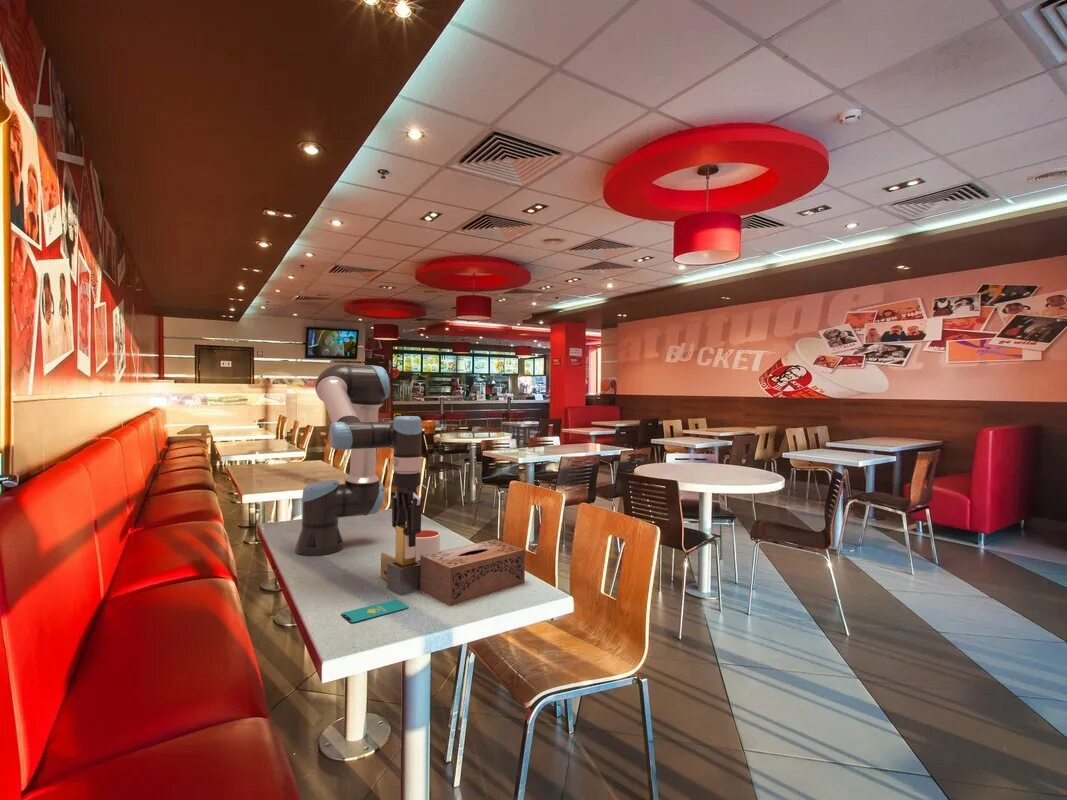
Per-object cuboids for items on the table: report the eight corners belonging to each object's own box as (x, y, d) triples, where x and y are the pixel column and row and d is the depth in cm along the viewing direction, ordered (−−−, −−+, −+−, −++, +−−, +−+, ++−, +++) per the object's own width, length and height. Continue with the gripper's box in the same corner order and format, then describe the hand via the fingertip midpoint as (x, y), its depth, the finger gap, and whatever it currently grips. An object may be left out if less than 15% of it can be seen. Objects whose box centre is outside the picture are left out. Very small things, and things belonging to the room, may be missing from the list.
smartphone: (410, 606, 133) (351, 622, 123) (409, 609, 133) (351, 625, 123) (396, 598, 138) (339, 613, 128) (396, 601, 138) (339, 616, 128)
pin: (395, 565, 146) (395, 525, 146) (408, 562, 149) (408, 523, 149) (402, 568, 144) (403, 528, 144) (415, 565, 146) (416, 526, 146)
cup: (432, 571, 162) (432, 538, 162) (401, 568, 164) (402, 536, 164) (444, 561, 171) (444, 531, 171) (415, 559, 173) (415, 529, 173)
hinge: (370, 579, 154) (370, 555, 154) (421, 567, 166) (422, 544, 166) (399, 595, 141) (400, 569, 141) (453, 581, 153) (453, 557, 153)
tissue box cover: (493, 572, 163) (493, 539, 163) (524, 584, 152) (525, 549, 152) (419, 591, 145) (420, 555, 145) (449, 607, 135) (450, 567, 135)
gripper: (379, 469, 150) (378, 551, 150) (410, 476, 138) (409, 566, 138) (403, 467, 155) (402, 547, 155) (435, 474, 143) (434, 560, 143)
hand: (405, 555), depth 146 cm, fingers closed on pin, 4 cm apart
